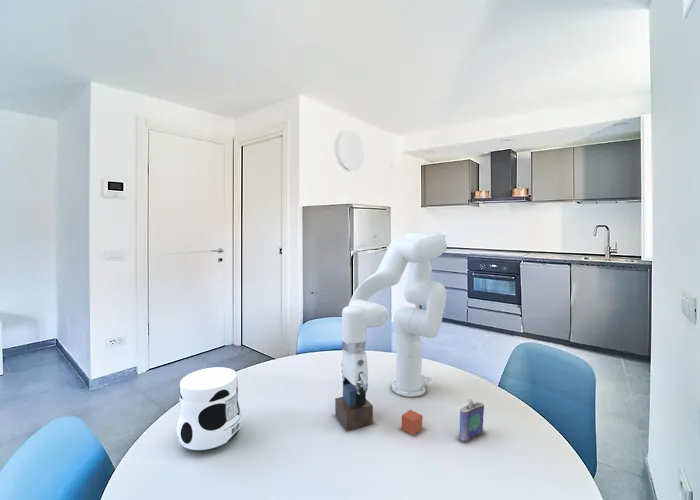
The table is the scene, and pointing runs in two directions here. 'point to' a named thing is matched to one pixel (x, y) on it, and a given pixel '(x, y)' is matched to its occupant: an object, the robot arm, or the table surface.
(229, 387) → the milk container
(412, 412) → the terracotta cube
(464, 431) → the flask
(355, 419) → the walnut base
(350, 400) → the blue cube
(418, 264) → the robot arm
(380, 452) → the table surface
